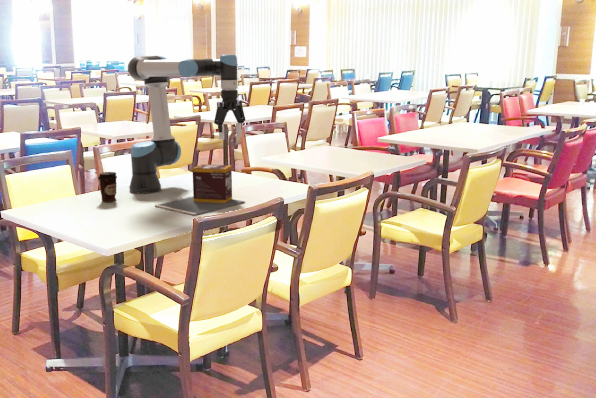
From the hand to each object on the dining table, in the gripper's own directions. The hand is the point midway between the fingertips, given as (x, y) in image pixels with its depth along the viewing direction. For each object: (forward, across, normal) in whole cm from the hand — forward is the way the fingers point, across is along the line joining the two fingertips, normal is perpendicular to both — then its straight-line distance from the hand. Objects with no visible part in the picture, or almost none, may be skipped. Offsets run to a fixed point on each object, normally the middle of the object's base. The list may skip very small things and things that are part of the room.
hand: (230, 138), depth 296 cm
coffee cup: (+28, -41, +38) cm, 63 cm away
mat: (+28, -20, 0) cm, 34 cm away
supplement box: (+27, -12, 0) cm, 30 cm away
